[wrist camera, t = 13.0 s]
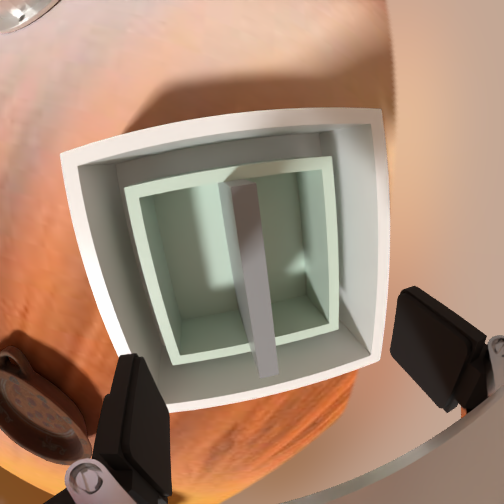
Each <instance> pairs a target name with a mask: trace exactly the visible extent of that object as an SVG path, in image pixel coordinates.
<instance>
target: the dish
mask: <svg viewBox="0 0 504 504" xmlns="http://www.w3.org/2000/svg"><path fill="white" fill-rule="evenodd" d="M9 357H11V358H12V359H14V361H15V362H16V363H17V364H18V365H19V366H17V365H14V364H12V363H11V362H10V360H9ZM0 429H1V430H2V431H3V432H4V433H5V434H6V435H7V436H8V437H9V438H10V439H11V440H12V441H14V442H15V443H16V444H18V445H19V446H21V447H22V448H24V449H25V450H27V451H29V452H31V453H32V454H34V455H36V456H38V457H41V458H43V459H45V460H46V461H50V462H53V463H56V464H62V465H72V464H73V463H74V462H76V461H78V460H80V459H86V458H89V459H90V458H91V456H92V447H91V444H90V441H89V439H88V435H87V430H86V425H85V421H84V418H83V416H82V414H81V412H80V410H79V409H78V407H77V406H76V405H75V403H74V402H73V401H72V400H71V399H70V398H69V397H68V396H67V395H65V394H64V393H63V392H62V391H61V390H60V389H59V388H58V387H56V386H55V385H54V384H52V383H51V382H49V381H48V380H47V379H45V378H44V377H42V376H41V375H39V374H37V373H36V372H34V370H33V369H32V367H31V365H30V363H29V361H28V360H27V358H26V356H25V355H24V354H23V353H22V352H21V351H20V350H19V349H18V348H16V347H14V346H7V347H6V348H5V349H3V350H2V351H1V352H0Z"/></svg>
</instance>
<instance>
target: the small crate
mask: <svg viewBox="0 0 504 504" xmlns="http://www.w3.org/2000/svg"><path fill="white" fill-rule="evenodd" d="M124 190H125V196H126V201H127V206H128V211H129V216H130V220H131V225H132V230H133V234H134V238H135V243H136V247H137V251H138V255H139V259H140V263H141V267H142V270H143V274H144V278H145V281H146V285H147V289H148V292H149V295H150V299H151V302H152V306H153V309H154V312H155V315H156V318H157V322H158V325H159V328H160V331H161V334H162V337H163V340H164V343H165V345H166V348H167V351H168V354H169V357H170V360H171V362H172V365H179V364H185V363H192V362H198V361H204V360H209V359H215V358H221V357H226V356H231V355H236V354H241V353H246V352H252V355H253V358H254V361H255V365H256V368H257V371H258V374H259V377H260V379H262V378H266V377H270V376H274V375H279V369H278V360H277V351H276V346H277V345H282V344H286V343H290V342H294V341H298V340H302V339H305V338H309V337H313V336H317V335H320V334H324V333H328V332H331V331H335V330H338V329H339V261H338V233H337V214H336V199H335V186H334V175H333V164H332V156H312V157H294V158H284V159H275V160H266V161H258V162H250V163H243V164H236V165H229V166H222V167H216V168H210V169H204V170H198V171H192V172H187V173H181V174H176V175H171V176H166V177H161V178H156V179H151V180H147V181H142V182H139V183H136V184H133V185H130V186H127V187H124Z"/></svg>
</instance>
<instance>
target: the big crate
mask: <svg viewBox="0 0 504 504" xmlns="http://www.w3.org/2000/svg"><path fill="white" fill-rule="evenodd" d="M312 156H332V164H333V175H334V186H335V199H336V214H337V233H338V261H339V329H338V330H335V331H331V332H328V333H324V334H320V335H317V336H313V337H309V338H305V339H302V340H298V341H294V342H290V343H286V344H282V345H277V346H276V351H277V360H278V369H279V375H274V376H270V377H266V378H262V379H260V377H259V374H258V371H257V368H256V365H255V361H254V358H253V355H252V352H246V353H241V354H236V355H231V356H226V357H221V358H215V359H209V360H204V361H198V362H192V363H185V364H179V365H172V362H171V360H170V357H169V354H168V351H167V348H166V345H165V343H164V340H163V337H162V334H161V331H160V328H159V325H158V322H157V318H156V315H155V312H154V309H153V306H152V302H151V299H150V295H149V292H148V289H147V285H146V281H145V278H144V274H143V270H142V267H141V263H140V259H139V255H138V251H137V247H136V243H135V238H134V234H133V230H132V225H131V220H130V216H129V211H128V206H127V201H126V196H125V190H124V187H127V186H130V185H133V184H136V183H139V182H142V181H147V180H151V179H156V178H161V177H166V176H171V175H176V174H181V173H187V172H192V171H198V170H204V169H210V168H216V167H222V166H229V165H236V164H243V163H250V162H258V161H266V160H275V159H284V158H294V157H312ZM60 158H61V165H62V171H63V178H64V183H65V189H66V194H67V199H68V204H69V209H70V213H71V218H72V222H73V226H74V230H75V234H76V238H77V242H78V246H79V249H80V253H81V256H82V260H83V263H84V267H85V270H86V273H87V276H88V279H89V282H90V285H91V288H92V291H93V294H94V297H95V300H96V303H97V305H98V308H99V311H100V313H101V316H102V319H103V321H104V324H105V326H106V329H107V331H108V334H109V336H110V338H111V341H112V343H113V345H114V348H115V350H116V352H117V354H118V357H119V356H120V355H124V354H132V353H137V354H138V356H139V357H141V356H142V357H144V359H145V361H146V363H147V366H148V368H149V370H150V372H151V375H152V377H153V379H154V381H155V383H156V385H157V388H158V390H159V392H160V394H161V396H162V398H163V400H164V402H165V404H166V406H167V408H168V411H169V413H172V412H180V411H188V410H195V409H202V408H208V407H214V406H220V405H226V404H231V403H236V402H241V401H246V400H251V399H255V398H260V397H264V396H269V395H273V394H277V393H281V392H285V391H288V390H292V389H296V388H299V387H303V386H306V385H310V384H313V383H317V382H320V381H323V380H326V379H329V378H333V377H336V376H339V375H342V374H344V373H347V372H350V371H353V370H356V369H359V368H361V367H364V366H367V365H369V364H372V363H375V362H377V361H379V360H380V356H381V349H382V342H383V335H384V326H385V317H386V307H387V295H388V279H389V259H390V258H389V257H390V197H389V177H388V162H387V151H386V141H385V132H384V124H383V116H382V109H374V108H344V107H321V108H291V109H274V110H261V111H251V112H241V113H232V114H224V115H217V116H210V117H204V118H197V119H191V120H186V121H180V122H175V123H170V124H165V125H160V126H155V127H151V128H146V129H142V130H138V131H134V132H130V133H126V134H122V135H118V136H114V137H111V138H107V139H104V140H100V141H97V142H93V143H90V144H87V145H84V146H81V147H78V148H75V149H72V150H69V151H66V152H63V153H60Z"/></svg>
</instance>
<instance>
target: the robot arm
mask: <svg viewBox="0 0 504 504" xmlns="http://www.w3.org/2000/svg"><path fill="white" fill-rule="evenodd" d="M58 1H59V0H0V33H2V34H5V33H11V32H14V31H16V30H19V29H21V28H23V27H25V26H27V25H28V24H30V23H32V22H33V21H35V20H36V19H38V18H39V17H40V16H42V15H43V14H44V13H46V12H47V11H48V10H49V9H50V8H51V7H53V6H54V5H55V4H56V3H57V2H58ZM486 337H487V336H486V335H485V334H484V333H482V332H481V331H480V330H478V329H477V328H475V327H474V326H473V325H471V324H470V323H469V322H467V321H466V320H464V319H463V318H462V317H460V316H459V315H457V314H456V313H455V312H453V311H452V310H450V309H448V308H447V307H446V306H445V305H443V304H442V303H440V302H439V301H437V300H436V299H434V298H433V297H431V296H430V295H429V294H427V293H426V292H424V291H422V290H421V289H420V288H418V287H416V286H412V287H409V288H406V289H404V290H402V291H401V293H400V295H399V296H398V299H397V308H396V315H395V322H394V329H393V335H392V341H391V347H390V353H391V355H392V357H393V358H394V359H395V360H396V361H397V362H398V364H399V365H400V366H401V367H402V368H403V369H404V370H405V371H406V372H407V373H408V374H409V375H410V376H411V377H412V379H413V380H414V381H415V382H416V383H417V384H418V385H419V386H420V387H421V388H422V390H423V391H424V392H426V394H427V395H428V396H429V397H430V398H431V399H432V401H434V403H435V404H436V405H437V406H438V407H439V408H443V409H444V410H445V411H446V412H447V413H448V412H450V411H451V410H452V409H454V408H455V407H457V405H458V403H459V404H460V405H461V419H460V420H458V421H457V422H455V423H454V424H453V425H451V426H450V427H448V428H447V429H446V430H444V431H442V432H441V433H439V434H438V435H436V436H435V437H433V438H432V439H430V440H428V441H427V442H425V443H423V444H422V445H420V446H419V447H417V448H415V449H414V450H411V451H410V452H408V453H406V454H404V455H402V456H401V457H399V458H397V459H395V460H393V461H391V462H389V463H387V464H385V465H383V466H381V467H379V468H377V469H375V470H373V471H370V472H368V473H366V474H364V475H362V476H359V477H357V478H355V479H352V480H350V481H347V482H345V483H342V484H340V485H337V486H335V487H332V488H329V489H326V490H323V491H320V492H317V493H314V494H311V495H309V496H305V497H302V498H299V499H295V500H291V501H288V502H284V503H280V504H504V336H502V335H498V336H494V337H492V338H491V339H490V340H489V342H488V344H487V345H486V344H485V340H486ZM65 485H66V488H65V489H64V490H62V491H61V492H60V493H58V494H57V495H55V496H54V497H53V498H51V499H49V500H48V501H47V502H45V503H44V504H168V498H167V496H171V495H172V482H171V461H170V416H169V411H168V408H167V406H166V404H165V402H164V400H163V398H162V396H161V394H160V392H159V390H158V388H157V385H156V383H155V381H154V379H153V377H152V375H151V372H150V370H149V368H148V366H147V363H146V361H145V359H144V357H142V356H141V357H139V356H138V354H137V353H132V354H124V355H120V356H119V359H118V363H117V367H116V371H115V375H114V379H113V383H112V387H111V391H110V394H107V395H106V396H105V398H104V401H103V406H102V410H101V414H100V419H99V423H98V428H97V433H96V438H95V444H94V449H93V455H92V459H89V458H86V459H80V460H78V461H76V462H74V463H73V464H72V465H71V466H70V467H69V468H68V470H67V471H66V475H65Z"/></svg>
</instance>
